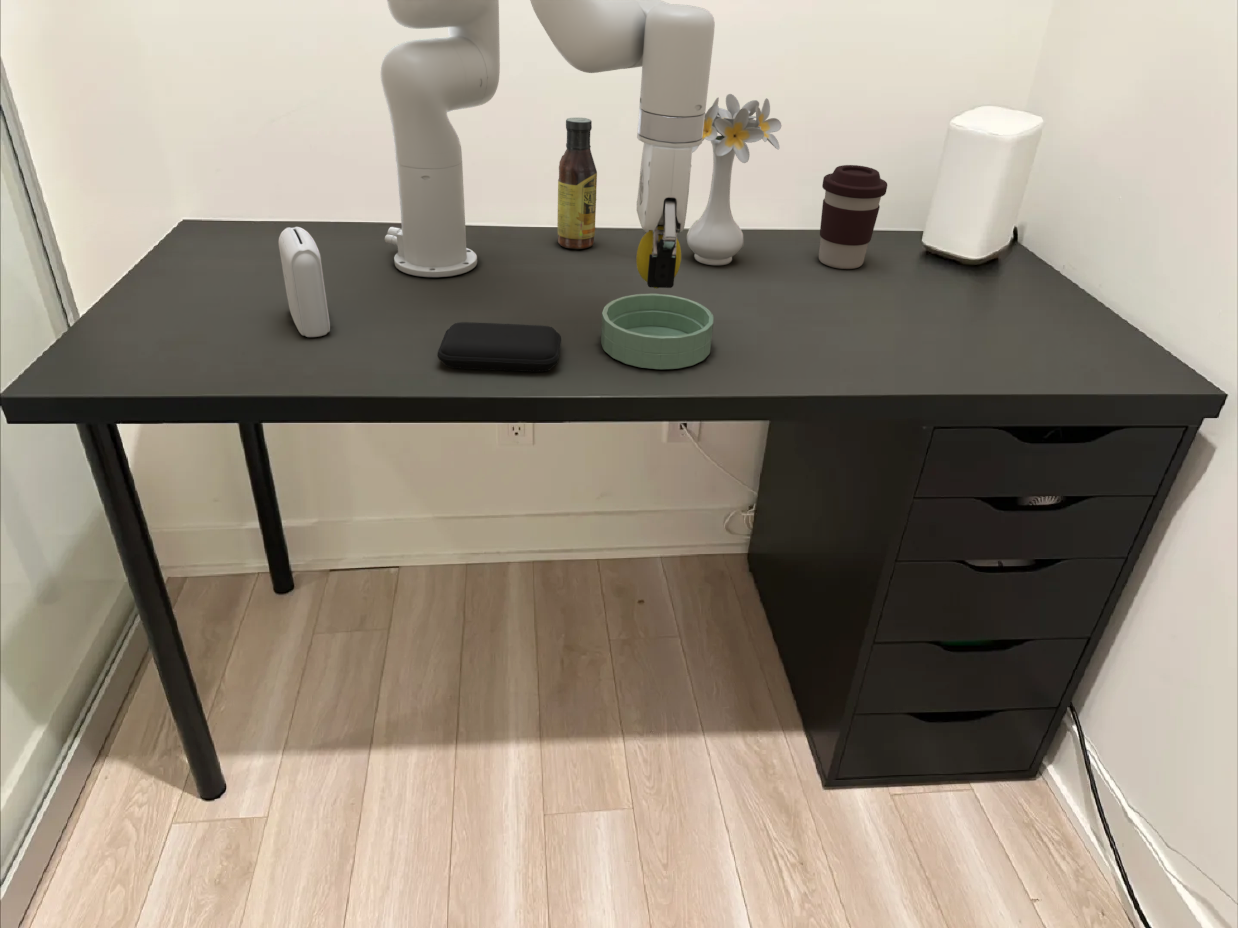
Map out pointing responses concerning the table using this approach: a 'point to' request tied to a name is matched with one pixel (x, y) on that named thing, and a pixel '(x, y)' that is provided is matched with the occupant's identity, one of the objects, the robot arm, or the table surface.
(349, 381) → the table surface
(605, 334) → the fruit bowl
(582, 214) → the sauce bottle
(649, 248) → the lemon
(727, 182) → the flower vase
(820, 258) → the coffee cup
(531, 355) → the carrying case
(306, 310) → the photo printer
